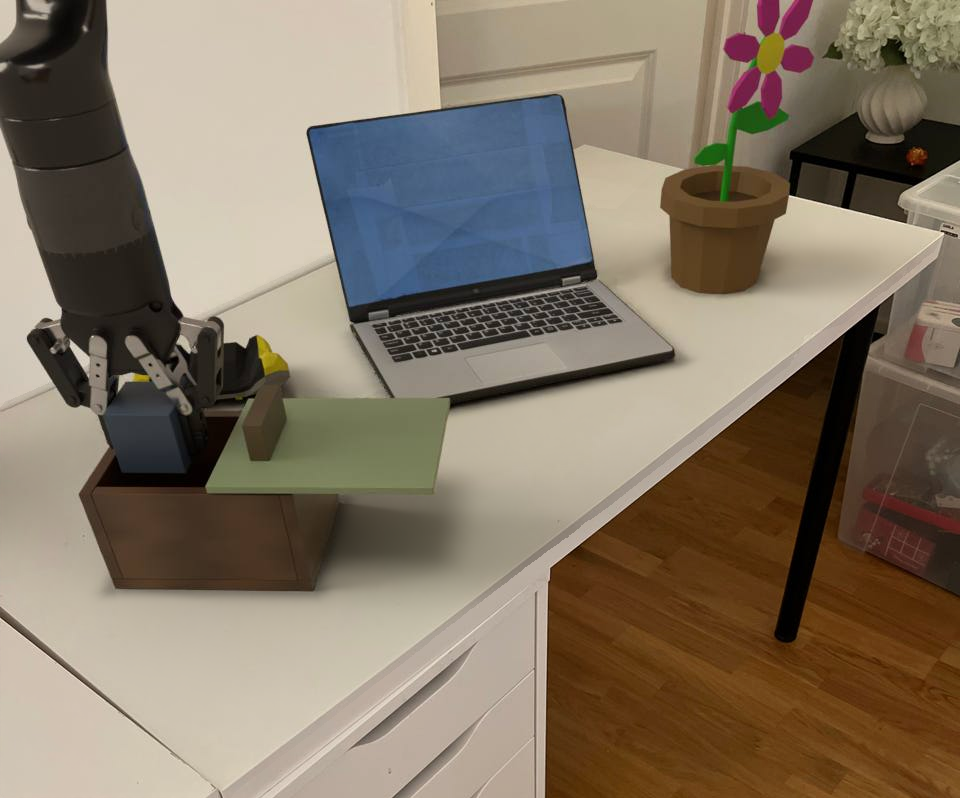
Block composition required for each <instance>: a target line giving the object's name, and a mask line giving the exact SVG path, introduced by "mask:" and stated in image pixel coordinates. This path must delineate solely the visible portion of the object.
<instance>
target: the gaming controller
mask: <svg viewBox="0 0 960 798" xmlns="http://www.w3.org/2000/svg"><path fill="white" fill-rule="evenodd" d="M176 347H177V348H178V350H179V351H180V353H181V354H182V356H183V357H184V359H185V361H186V363H187V367H188V371H189V373H190V374H191V376H192V378H193V379H194V381H195V382H196V384H197V353H196V354H195V353H193V352H192V351H191V350H190V352H188V351H187V350H186V349H185V348H184V346H182V344H180V343H178V342H177V343H176ZM164 366H165V368H166V364H165V365H164ZM290 378H291V373H290V369H289V364H288V362H287V361H286V360H285V359H284V358H283V357H282V356H281V355H280V354H279V353H278V352H273V350H272V348H271V345H270V344H269V342H268V341H267V340H266V339H265V338H264V337H263V336H261V335H260V334H258V333H256V334H254V335H252V336H251V337H249V338H248V342H247V344H246V346H245V347H244V346H243V345H241V344H240V343H238V342H236V341H233V342H224V354H223V388H222V390H221V391H220V393H219V395H218V397H217V399H216V400H225V399H234V398H235V401H241V400H243V398H247V397H249V396H253V395H257V393H258V391H259V389H260V386H261V385H280V387H281V386H283V385H284V384H285V382H287V381H288V380H289V379H290ZM131 382H153V381H152V379H151V378H150V377H149V375H140V374H135V373H134V375H133V378H132V381H131Z"/></svg>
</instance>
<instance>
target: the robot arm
mask: <svg viewBox="0 0 960 798" xmlns="http://www.w3.org/2000/svg"><path fill="white" fill-rule="evenodd" d="M108 20H109V19H108V3H107V0H15V24H14V28H13V29H12V31H11V32H10V34H9V35H8V36H7V37H6V38H5V39H4V40H3V41H1V42H0V132H1V135H2V137H3V141H4V143H5V146H6V148H7V151H8V154H9V157H10V160H11V164H12V167H13V170H14V174H15V178H16V179H15V180H16V182H17V189H18V193H19V198H20V202H21V204H22V207H23V210H24V213H25V217H26V223H27V225H28V228H29V230H30V231H31V234H32V236H33V237H32V238H33V240H34V242H35V245H36V248H37V250H38V254H39V256H40V259H41V263H42V265H43V268H44V271H45V273H46V276H47V279H48V282H49V285H50V288H51V291H52V293H53V296H54V300H55V302H56V303H57V305H58V306H59V307H60V308H61V310H60V311H61V315H60V318H59V319H55V320H53V319H52V318H49V317H43V318H41V320H40V321H39V322H37V323H36V324H35V325H34V326H33V327H32V329H31V330H30V332H29V333H28V334H27V335H26V342H27V344H28V345H29V347H30V348H31V350H32V352H33V353H34V355H35V356H36V358H37V359H38V361H39V363H40V364H41V366H42V367H43V369H44V371H45V372H46V374H47V375H48V377H49V379H50V380H51V381H52V383H53V386H55V388H56V390H57V391H58V393H59V395H60V396H61V398H62V400H63V402H65V404H66V405H67V406H68V407H71V408H74V409H77V408H79V407H80V406H81V407H85V408H87V409H90V410H91V411H92V412H93V413H94V414H95V415H96V416H97V418H98V420H99V424H100V427H101V430H102V432H103V435H104V438H105V442H106V444H107V445H108V447H109V446H110V448H111V449H114V447H113V444H112V441H111V438H110V435H109V432H108V429H107V427H106V424H105V421H104V418H103V413H104V412H105V410H106V409H107V408H108V406H109V405H110V403H111V402H112V400H113V399H114V398H115V396H116V395H117V393H118V392H119V387H120V385H119V384H120V376H124V375H127V374H134V375H135V374H140V375H149V377H150V378H151V379H152V381H153V382H154V384H155V385H156V387H157V388H158V389H159V390H160V391H164V392H165V393H166V395H167V396H168V398H169V399H170V401H171V402H172V404H173V405H174V407H175V408H176V410H177V411H178V412H179V414H178V419H179V423H180V426H181V430H182V434H183V437H184V441H185V444H186V448H187V452H188V455H189V456H190V457H198V456H199V455H200V453H201V452H202V450H203V449H204V448H205V446H206V444H207V442H208V440H209V435H210V433H209V430H208V426H207V423H206V418H205V414H204V411H205V410H204V408H211V407H213V406H214V405H215V402H216V401H217V400H218V399H217V397H218V395H219V393H220V391H221V390H222V388H223V354H224V343H225V323H224V322H223V320H222V318H220V317H218V316H214V315H213V316H210V317H208V318H207V320H205V321H204V320H200V319H196V318H191V317H186V316H184V314H183V312H182V310H181V309H180V308H179V306H178V305H177V304H176V303H175V301H174V298H173V296H172V293H171V286H170V281H169V277H168V273H167V270H166V266H165V262H164V258H163V254H162V249H161V247H160V243H159V239H158V236H157V230H156V228H155V224H154V221H153V217H152V214H151V212H152V211H151V208H150V205H149V202H148V201H149V200H148V198H147V194H146V190H145V186H144V183H143V180H142V177H141V175H140V171H139V169H138V166H137V163H136V161H135V159H134V156H133V153H132V151H131V148H130V145H129V142H128V138H127V135H126V132H125V127H124V124H123V119H122V116H121V112H120V108H119V105H118V101H117V98H116V92H115V90H114V85H113V83H112V79H111V74H110V70H109V69H110V68H109V24H108V23H109V22H108ZM180 336H183V337H184V338H185V339H186V340H187V342H188V346H189V349H190V352H191V351H192V352H193V353H195V354H196V353H197V384H196V382H195V381H194V379H193V378H192V376H191V374H190V373H189V371H188V367H187V363H186V361H185V359H184V357H183V356H182V354H181V353H180V351H179V350H178V348H177V347H176V343H178V341H179V338H180ZM71 342H72V343H73V344H74V345H75V346H76V347H78V348H79V349H80V350H81V351H82V352H83V353H84V354H85V355H86V356H87V357H88V358H89V365H88V366H89V367H88V374H87V373H86V371H85V369H84V368H83V366H82V364H81V363H80V361H79V360H78V358H77V356H76V354H75V353H74V351H73V349H72V348H71ZM165 364H166V368H165V366H164V365H165Z"/></svg>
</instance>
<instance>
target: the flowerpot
mask: <svg viewBox="0 0 960 798" xmlns="http://www.w3.org/2000/svg"><path fill="white" fill-rule="evenodd" d="M813 2H814V0H794V1H793V2H792V3H791V5H790V6H789V7H788V9H787V10H786V11H785V13H784V15H782V17H781V11H780V8H781V7H780V0H757V4H756V16H757V17H756V18H757V27H758V30H760V32H761V33H762V35H763V38H762V40H761V41H760V42H759V41H758V38H757V36H755V35H751V34H745V33H741V32H737V33H735V34H732V35H731V36H729V37H727V38H725V41H724V45H723V48H722V50H723V51H724V54H726V55H727V57H728V58H729V60H731V61H736V62H740V63H746V64H749V63H750V64H749V66H748V68H747V70H745V71H744V72H743V73H742V74H741V76H740V77H739V79H737V82H736V83H735V84H734V86H733V88H731V91H730V95H729V99H728V103H727V105H726V106H727V107H726V108H727V109H728V111H729V112H730V113H731V117H730V122H729V126H728V129H727V130H728V131H727V137H726V138H727V139H726V143H724V142H723V143H722V142H714V143H712V144H708V145H706V146H704V147H702V149H701V150H700V151H699V152H697V154H696V155H695V156H694V159H693V161H694V163H693V164H695V165H699V166H700V167H698V166H697V167H691V168H684V169H683V170H680V171H678V172H675V173H673V174H671V175H668V176H667V177H665V178H664V181H663V184H662V185H661V186H662V187H661V190H660V191H661V193H660V204H659V208H660V209H661V210H662V211H663V212H664V213H665V214H667V215H668V216H669V219H668V220H669V247H670V248H669V249H670V276H671V277H670V278H671V279H672V281H674V282H675V283H676V284H677V285H678V286H679V287H681V288H683V289H687V290H689V291H693V292H696V293H701V294H716V295H724V294H732V293H737V292H743V291H746V290H747V289H749V288H751V287H753V286H754V285H756V284H757V282H758V279H759V275H760V272H761V269H762V266H763V262H764V259H765V255H766V251H767V248H768V244H769V242H770V237H771V234H772V231H773V227H774V224H775V220H777V219H779V218H780V217H783V216H784V215H786V214H787V210H788V203H789V198H790V189H791V188H790V187H791V182H789V181H788V180H787V179H785V178H783V177H781V176H780V175H778V174H776V173H775V172H772V171H768V170H764V169H760V168H755V167H751V166H743V165H733V164H734V156H735V150H736V149H735V148H736V141H737V134H738V133H737V132H738V131H741V132H744V133H747V134H750V135H755V134H759V133H763V132H768V131H770V130H771V129H773V128H775V127H777V126H779V125H781V124H782V123H785V122H786V121H788V120H789V117H790V114H789V113H787V112H785V111H784V110H783V109H782V108H780V107H781V102H782V99H783V80H782V78H781V77H780V75H779V73H778V71H777V68H778V67H779V65H781V67H782V69H783V70H784V71H787V72H792V73H798V74H801V73H803V72H805V71H806V70H809V69H810V68H812V65H813V62H814V59H815V56H814V54H813V53H812V51H811V50H810V48H809V47H806V46H802V45H797V44H794V43H793V44H790V45H788V46H787V47H786V48H785V41H786V40H788V39H790V38H792V37H795V36H796V35H797V34H798V33H799V31H800V30H801V28H802V27H803V25H804V24H805V23H806V22H807V20H808V18H809V17H810V13H811V10H812V6H813ZM780 18H781V22H780V26H779V30H778V33H777V32H775V30H776V28H777V25H778V22H779V20H780ZM762 74H764V75H765V76H764V78H763V81H762V84H761V87H760V101H758V100H757V101H755V102H753V103H751V104H749V105H747V104H748V103H749V102H750V101H751V99H752V98H753V96H754V95H755V93H756V92H757V91H758V89H759V86H760V81H761V77H762ZM723 161H724V164H723V165H718V164H719V163H721V162H723Z"/></svg>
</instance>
